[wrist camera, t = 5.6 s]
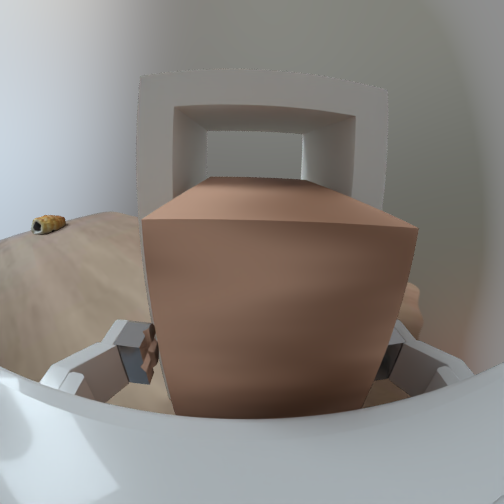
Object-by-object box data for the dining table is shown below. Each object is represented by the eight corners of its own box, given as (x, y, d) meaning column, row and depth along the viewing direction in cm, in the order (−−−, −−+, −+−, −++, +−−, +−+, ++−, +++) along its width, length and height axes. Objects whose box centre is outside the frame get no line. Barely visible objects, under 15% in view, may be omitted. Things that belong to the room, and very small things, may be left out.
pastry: (55, 224, 54) (54, 209, 53) (72, 225, 54) (70, 209, 52) (29, 235, 46) (27, 218, 44) (45, 236, 45) (43, 219, 44)
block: (202, 492, 8) (141, 219, 4) (215, 359, 18) (210, 176, 14) (312, 489, 8) (418, 228, 4) (287, 359, 18) (306, 179, 14)
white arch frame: (169, 399, 14) (140, 75, 8) (192, 312, 23) (187, 112, 18) (336, 398, 14) (387, 89, 9) (305, 313, 24) (322, 117, 18)
